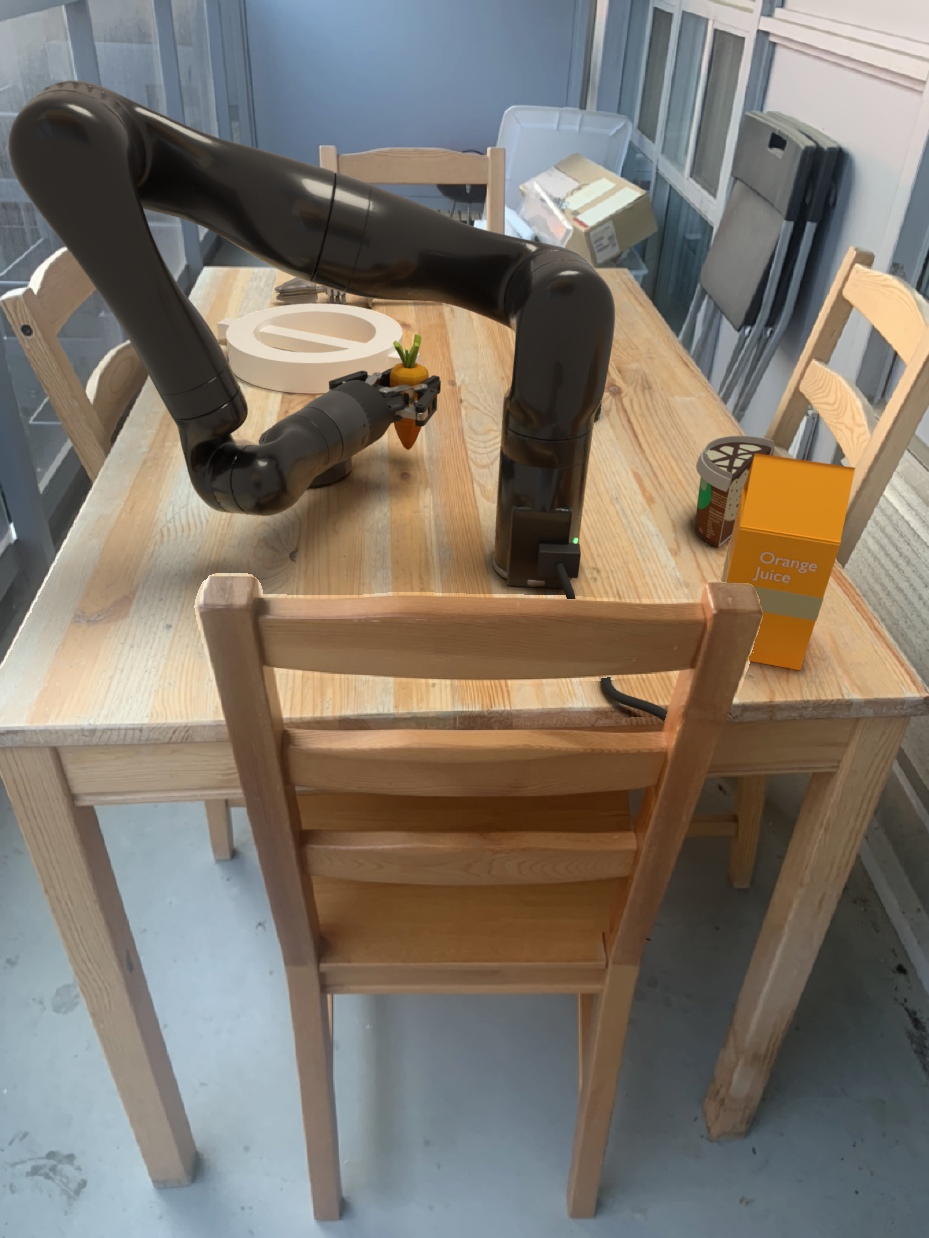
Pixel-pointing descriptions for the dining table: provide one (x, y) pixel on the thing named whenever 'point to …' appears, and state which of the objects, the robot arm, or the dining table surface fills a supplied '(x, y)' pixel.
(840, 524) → the orange juice
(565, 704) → the dining table surface
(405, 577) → the dining table surface
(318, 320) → the white circle with bar
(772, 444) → the food container
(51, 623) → the dining table surface
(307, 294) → the spaceship
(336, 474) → the pan
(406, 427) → the carrot
